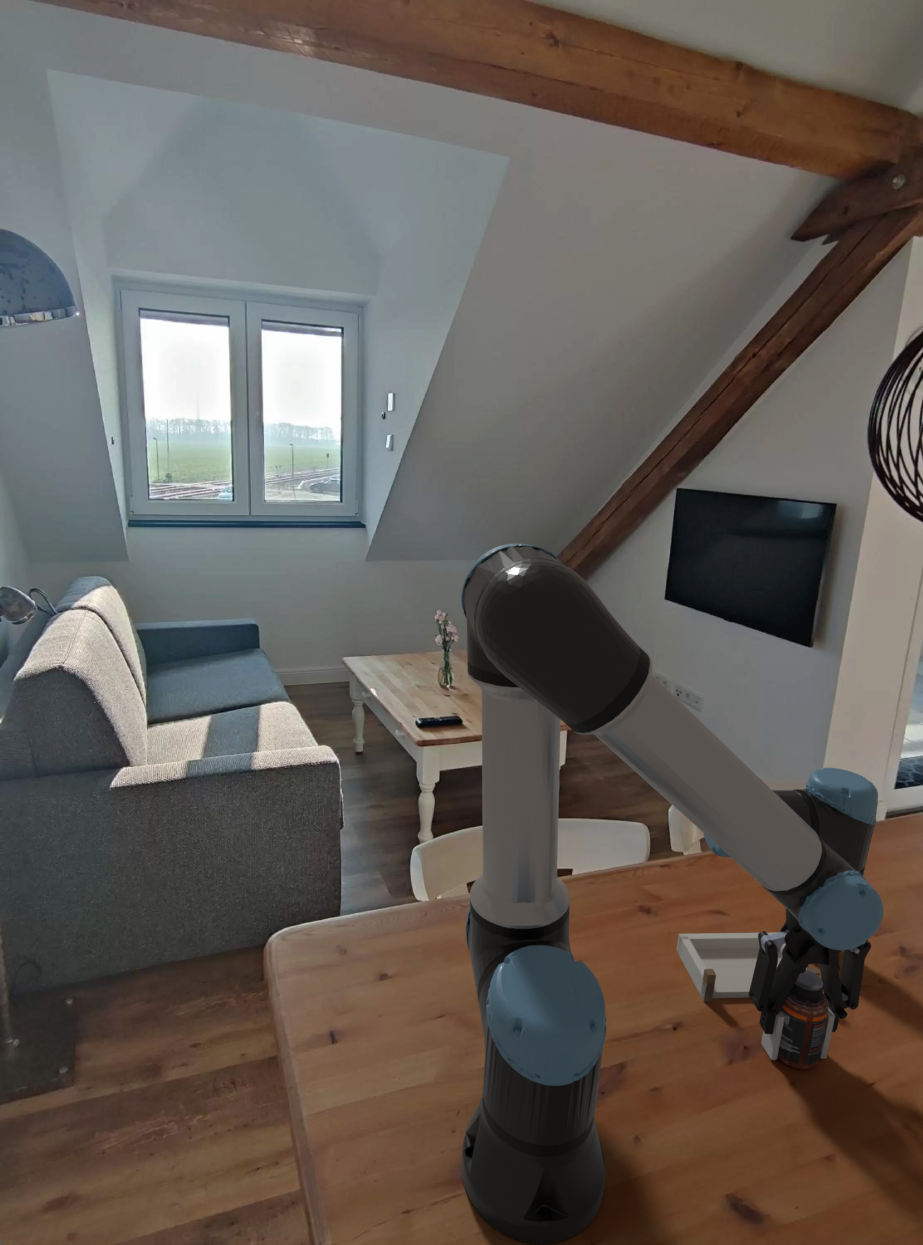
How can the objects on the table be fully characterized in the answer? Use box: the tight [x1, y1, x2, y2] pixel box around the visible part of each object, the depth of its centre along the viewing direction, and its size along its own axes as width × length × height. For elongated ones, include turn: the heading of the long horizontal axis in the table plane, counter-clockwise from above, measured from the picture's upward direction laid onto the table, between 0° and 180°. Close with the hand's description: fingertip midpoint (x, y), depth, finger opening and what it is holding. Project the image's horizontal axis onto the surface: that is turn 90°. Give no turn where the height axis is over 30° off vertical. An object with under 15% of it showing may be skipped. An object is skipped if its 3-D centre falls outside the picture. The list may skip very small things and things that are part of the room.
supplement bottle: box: [777, 970, 828, 1070], centre depth 94 cm, size 6×6×11 cm
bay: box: [676, 932, 821, 1003], centre depth 109 cm, size 11×16×4 cm, turn 95°
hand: (793, 1050), depth 95 cm, fingers closed on supplement bottle, 6 cm apart
